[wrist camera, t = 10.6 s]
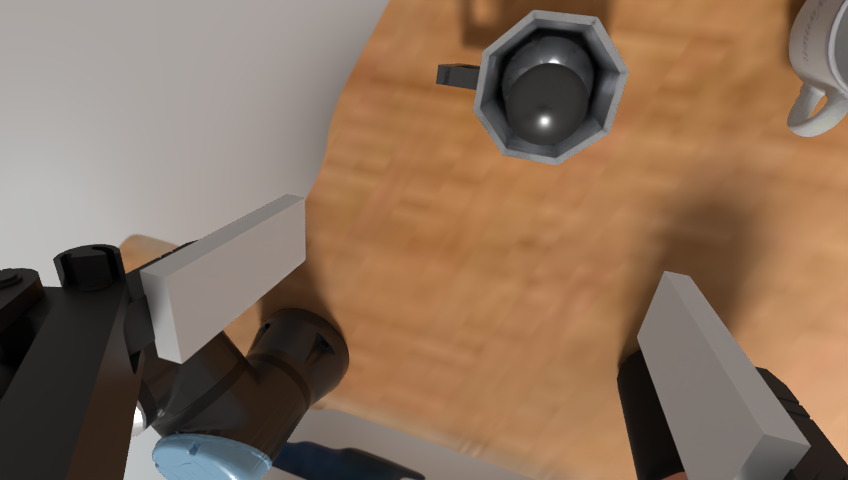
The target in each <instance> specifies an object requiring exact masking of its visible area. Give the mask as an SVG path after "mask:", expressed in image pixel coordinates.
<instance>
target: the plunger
mask: <svg viewBox="0 0 848 480" xmlns="http://www.w3.org/2000/svg"><path fill="white" fill-rule="evenodd" d="M592 82H593V73H592V67H591V64H590V61H589V59H588V57H587V55H586V54H585V52H584V51H583V50H582V49H581V48H580V47H579V46H578V45H577V44H575V43H574V42H572V41H570V40H568V39H565V38H561V37H553V36H551V37H543V38H539V39H536V40H534V41H532V42H530V43H528V44H526V45H525V46H524V47H522V48H521V49H520V50H519V51H518V52H517V53H516V54H515V55H514V56H513V58H512V59H511V61H510V62H509V64H508V66H507V68H506V71H505V74H504V78H503V97H504V101H505V103H506V113H507V118H508V121H509V124H510V126H511V128H512V129H513V131H514V132H515V133H516V134H517V135H518V136H519V137H520V138H521V139H523V140H525V141H526V142H529V143H531V144H535V145H551V144H555V143H558V142H561V141H563V140H565V139H566V138H568V137H569V136H571V135H572V134H573V133H574V132H575V131H576V130H577V129H578V127H579V126H580V124H581V123H582V121H583V119H584V117H585V114H586V111H587V106H588V98H589V95H590V92H591V88H592Z"/></svg>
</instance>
